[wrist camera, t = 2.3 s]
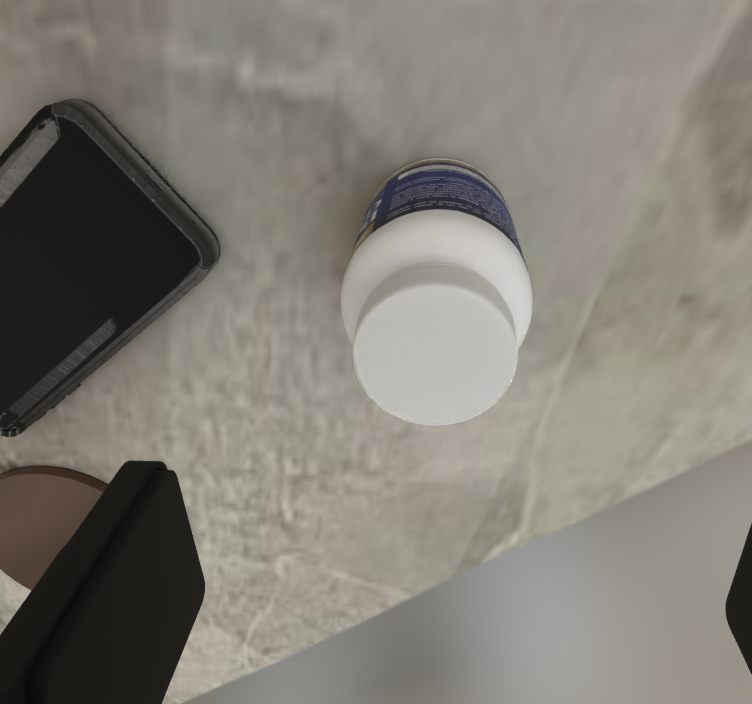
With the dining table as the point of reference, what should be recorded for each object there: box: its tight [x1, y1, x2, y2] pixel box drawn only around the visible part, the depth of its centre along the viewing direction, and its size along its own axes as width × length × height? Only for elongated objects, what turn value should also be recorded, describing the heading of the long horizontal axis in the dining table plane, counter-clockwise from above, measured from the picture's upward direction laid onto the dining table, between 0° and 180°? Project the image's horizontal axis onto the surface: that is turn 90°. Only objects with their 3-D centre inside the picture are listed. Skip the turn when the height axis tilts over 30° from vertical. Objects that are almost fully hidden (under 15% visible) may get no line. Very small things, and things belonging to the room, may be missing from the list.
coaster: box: [0, 466, 108, 590], centre depth 33 cm, size 10×10×1 cm
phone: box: [0, 99, 220, 437], centre depth 25 cm, size 8×1×15 cm
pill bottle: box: [341, 158, 533, 426], centre depth 19 cm, size 5×5×10 cm
